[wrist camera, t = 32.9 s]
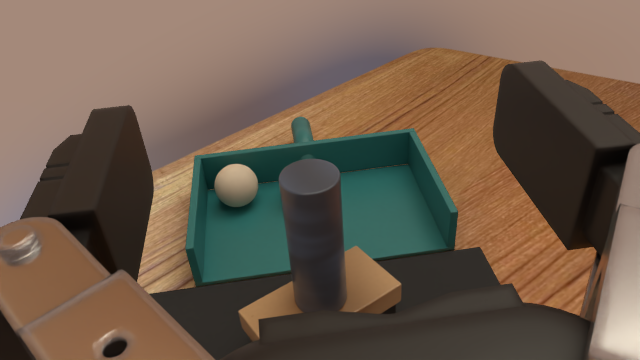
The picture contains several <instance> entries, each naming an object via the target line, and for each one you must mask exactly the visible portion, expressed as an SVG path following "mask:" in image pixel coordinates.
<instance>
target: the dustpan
mask: <svg viewBox="0 0 640 360" xmlns="http://www.w3.org/2000/svg"><path fill="white" fill-rule="evenodd" d="M291 128H292V134H293V139H294V143H292V144H285V145H277V146H269V147H261V148H253V149H245V150H237V151H229V152H221V153H213V154H205V155H197V156H195V158H194V168H193V178H192V188H191V198H190V208H189V218H188V228H187V238H186V248H185V250H186V253H187V257H188V260H189V264H190V267H191V271H192V274H193V278H194V281H195V285H196V287H197V286H204V285H211V284H218V283H225V282H232V281H240V280H247V279H254V278H261V277H268V276H275V275H282V274H289V273H291V268H290V260H289V253H288V246H287V238H286V231H285V224H284V216H283V209H282V202H281V194H280V187H279V175H280V173H281V171H282V170H283V169H284V168H285V167H286V166H288V165H290V164H292V163H294V162H296V161H300V160H305V159H321V160H325V161H328V162H330V163H332V164H334V165H335V166H336V167H337V168H338V170H339V171H340V176H341V194H342V213H343V231H344V249H345V252H346V251H347V250H349V249H351V248H353V247H355V246H357V247H359V248H360V249H361V250H362V251H363V252H365V253H366V254H367V255H368V256H369V257H370V258H372V259H373V260H374V261H380V260H388V259H395V258H402V257H409V256H416V255H423V254H430V253H437V252H444V251H451V250H454V248H455V247H454V246H455V237H456V228H457V218H458V210H457V208H456V207H455V205H454V203H453V201H452V199H451V197H450V195H449V194H448V192H447V190H446V188H445V186H444V184H443V182H442V180H441V179H440V177H439V175H438V173H437V171H436V169H435V167H434V166H433V164H432V162H431V160H430V158H429V156H428V154H427V153H426V151H425V149H424V147H423V145H422V143H421V141H420V139H419V138H418V136H417V134H416V132H415V130H414V128H411V129H404V130H396V131H388V132H380V133H372V134H364V135H356V136H348V137H340V138H332V139H324V140H316V141H314V140H313V136H312V132H311V127H310V123H309V121H308V120H307V119H306V118H304V117H297V118H295V119H294V120H293V122H292V124H291ZM231 164H242V165H245V166H247V167H249V168H250V169H251V170H252V171H253V172H254V173H255V175H256V177H257V180H258V183H260V184H258V191H257V194H256V196H255V198H254V199H253V200H252V201H251V202H250V203H248V204H247V205H245V206H242V207H231V206H228V205H226V204H224V203H223V202H222V201H221V200H220V199H219V198H218V197H217V195H216V192H215V187H214V185H215V179H216V176H217V174H218V173H219V172H220V171H221V170H222V169H223V168H224V167H226V166H228V165H231ZM402 164H406V165H402ZM394 165H398V166H394ZM387 166H391V167H387ZM379 167H383V168H379ZM371 168H375V169H371ZM364 169H368V170H364ZM356 170H360V171H356ZM348 171H352V172H348ZM341 172H345V173H341ZM272 181H276V182H272ZM264 182H268V183H264ZM210 189H214V190H210Z"/></svg>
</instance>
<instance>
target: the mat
mask: <svg viewBox="0 0 640 360" xmlns="http://www.w3.org/2000/svg"><path fill="white" fill-rule="evenodd" d="M376 263H377V264H379V265H380V266H381V267H382V268H383V269H385V270H386V271H387V272H388V273H389V274H390V275H392V276H393V277H394V278H395V279H396V280H397V281H399V282H400V283H401V301H400V302H398V303H397V304H396V313H397V312H400V311H402V310H405V309H408V308H410V307H413V306H416V305H418V304H421V303H424V302H426V301H429V300H431V299H434V298H437V297H439V296H442V295H445V294H447V293H450V292H455V291H462V290H469V289H476V288H483V287H490V286H497V285H500V283H499V281H498V279H497V278H496V276H495V274H494V272H493V270H492V268H491V267H490V265H489V263H488V261H487V259H486V257H485V255H484V254H483V252H482V250H481V248H480V247H477V248H470V249H463V250H456V251H448V252H441V253H434V254H427V255H420V256H413V257H406V258H399V259H392V260H385V261H378V262H376ZM291 281H292V275H291V274H287V275H279V276H272V277H265V278H258V279H251V280H244V281H237V282H230V283H223V284H216V285H209V286H202V287H195V288H188V289H181V290H174V291H167V292H160V293H153V294H149V295H150V296H151V297H152V298H153V299H154V300H155V301H156V302H157V303H158V304H159V305H160V306H161V307H162V308H163V309H164V310H165V311H166V312H167V313H168V314H170V315H171V316H172V317H173V318H174V319H175V320H176V321H177V322H178V323H179V324H180V325H181V326H182V327H183V328H184V329H185V330H186V331H187V332H188V333H189V334H190V335H191V336H192V337H193V338H194V339H195V340H196V341H197V342H198V343H199V344H200V345H201V346H202V347H203V348H204V349H205V350H206V351H207V352H208V353H209V354H210V355H211V356H212V357H213V358H214V359H215V360H220V359H222V358H223V357H225V356H226V355H228V354H230V353H231V352H233V351H234V350H236V349H238V348H240V347H242V346H244V345H246V344H248V343H250V340H249V336H248V335H247V334H246V332H245V331H244V330H243V328H242V325H241V321H240V317H239V312H238V311H239V310H241V309H242V308H244V307H246V306H248V305H250V304H251V303H253V302H255V301H257V300H259V299H260V298H262V297H264V296H266V295H268V294H270V293H271V292H273V291H275V290H277V289H279V288H280V287H282V286H284V285H286V284H288V283H289V282H291Z"/></svg>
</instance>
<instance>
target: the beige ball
mask: <svg viewBox="0 0 640 360" xmlns="http://www.w3.org/2000/svg"><path fill="white" fill-rule="evenodd" d="M214 187H215V192H216V195H217V197H218V198H219V199H220V200H221V201H222V202H223V203H224V204H226V205H228V206H231V207H242V206H245V205H247V204H248V203H250V202H251V201H252V200H253V199H254V198H255V196H256V194H257V191H258V180H257V177H256V175H255V173H254V172H253V171H252V170H251V169H250V168H249V167H247V166H245V165H242V164H231V165H228V166H226V167H224V168H223V169H222V170H221V171H220V172H219V173H218V174H217V176H216V179H215V185H214Z"/></svg>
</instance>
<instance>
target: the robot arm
mask: <svg viewBox="0 0 640 360" xmlns="http://www.w3.org/2000/svg"><path fill="white" fill-rule="evenodd" d="M602 102H603V101H601V100H600V99H599V98H598V97H597V96H596V95H594V94H593V93H592V92H591V91H590V90H588V89H586V88H584V87H582V86H580V85H577V84H575V83H573V82H571V81H568V80H564V79H563V78H562V77H561V76H560V75H559V74H558V73H556V72H555V71H554V70H553V69H552V68H551V67H550V66H548V65H547V64H546V63H545V62H543V61H533V62H524V63H515V64H508V65H506V66H505V67H504V69H503V71H502V74H501V79H500V86H499V92H498V99H497V106H496V112H495V119H494V126H493V138H494V144H495V148H496V150H497V153H498V154H499V156H500V157H501V159H502V160H503V161H504V163H505V164H506V165H507V167H508V168H509V170H510V171H511V172H512V174H513V175H514V176H515V178H516V179H517V181H518V182H519V183H520V185H521V186H522V188H523V189H524V190H525V192H526V193H527V194H528V196H529V197H530V199H531V200H532V201H533V203H534V204H535V205H536V207H537V208H538V210H539V211H540V212H541V214H542V215H543V217H544V218H545V219H546V221H547V222H548V223H549V225H550V226H551V228H552V229H553V230H554V232H555V233H556V234H557V236H558V237H559V239H560V240H561V241H562V243H563V244H564V246H565V247H566V248H567V250H573V249H580V248H588V247H594V248H595V249H596V251H597V252H596V255H595V258H594V261H593V264H592V268H591V272H590V276H589V280H588V284H587V288H586V292H585V296H584V300H583V304H582V308H581V312H580V316H578V315H575V314H572V313H569V312H566V311H564V310H561V309H557V308H553V307H549V306H545V305H539V304H533V303H523V302H522V300H521V298H520V297H519V295H518V293H517V291H516V290H515V288H514V286H513V284H505V285H497V286H490V287H483V288H476V289H469V290H462V291H455V292H450V293H447V294H445V295H442V296H439V297H437V298H434V299H431V300H429V301H426V302H424V303H421V304H418V305H416V306H413V307H410V308H408V309H405V310H402V311H400V312H397V313H393V314H374V313H359V312H343V311H328V310H320V311H313V312H305V313H298V314H291V315H284V316H277V317H270V318H263V319H258V322H259V339H258V340H256V341H253V342H251V343H248V344H246V345H244V346H242V347H240V348H238V349H236V350H234V351H233V352H231V353H230V354H228V355H226V356H225V357H223V358H222V359H220V360H640V133H639V132H638V131H637V130H635V129H634V128H633V127H632V126H631V125H630V124H628V123H627V122H626V121H625V120H624V119H623V118H621V117H620V116H619V115H618V114H614V111H613V110H612V109H611V108H610V107H608V106H607V105H606V104H603V103H602ZM153 192H154V186H153V176H152V170H151V166H150V163H149V159H148V156H147V153H146V149H145V146H144V142H143V139H142V135H141V132H140V128H139V125H138V122H137V118H136V115H135V112H134V110H133V109H132V107H131V106H129V105H128V106H119V107H110V108H101V109H94V110H92V112H91V114H90V116H89V119H88V121H87V123H86V126H85V128H84V130H83V133H82V134H78V135H70V136H69V137H68V138H67V139H66V140H65V141H63V142H62V143H61V144H60V145H59V146H58V147H57V148H55V149H54V150H53V152H52V154H51V156H50V159H49V160H48V162H47V165H46V169H44V171H43V173H42V175H41V177H40V182H38V183H37V185H36V187H35V189H34V191H33V193H32V195H31V197H30V199H29V202H28V204H27V206H26V208H25V210H24V212H23V214H22V216H21V218H20V220H17V221H15V222H11V223H9V224H7V225H5V226H2V227H0V360H215V359H214V358H213V357H212V356H211V355H210V354H209V353H208V352H207V351H206V350H205V349H204V348H203V347H202V346H201V345H200V344H199V343H198V342H197V341H196V340H195V339H194V338H193V337H192V336H191V335H190V334H189V333H188V332H187V331H186V330H185V329H184V328H183V327H182V326H181V325H180V324H179V323H178V322H177V321H176V320H175V319H174V318H173V317H172V316H171V315H170V314H168V313H167V312H166V311H165V310H164V309H163V308H162V307H161V306H160V305H159V304H158V303H157V302H156V301H155V300H154V299H153V298H152V297H151V296H150V295H149V294H148V293H147V292H146V291H145V290H144V289H143V288H142V287H141V286H140V285H139V284H138V283H137V279H138V273H139V268H140V263H141V257H142V252H143V247H144V242H145V236H146V231H147V226H148V221H149V215H150V210H151V205H152V199H153Z"/></svg>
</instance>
